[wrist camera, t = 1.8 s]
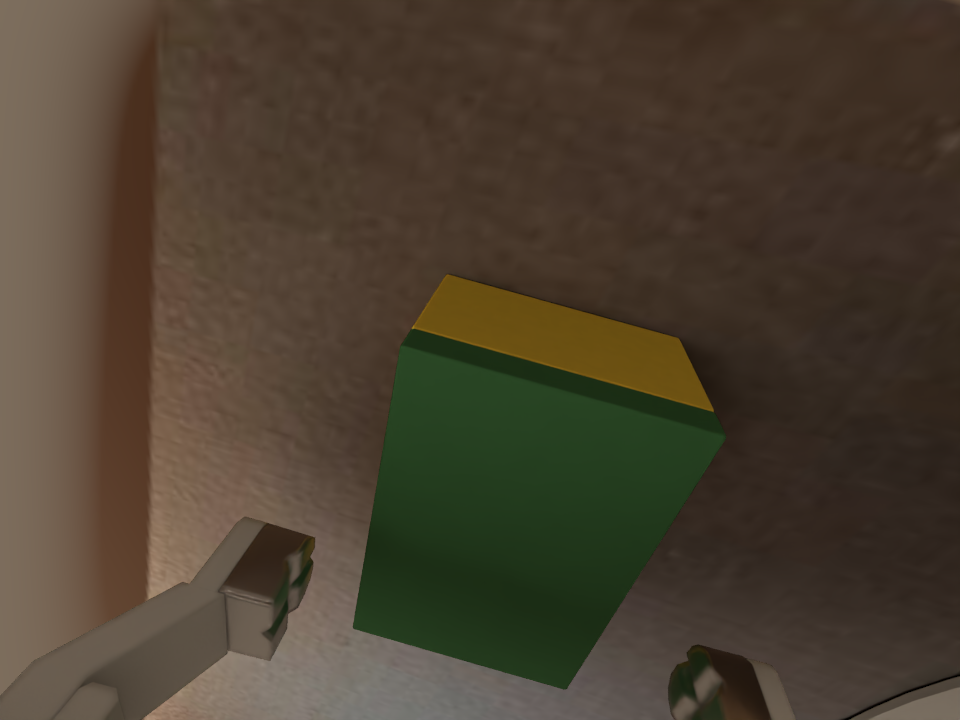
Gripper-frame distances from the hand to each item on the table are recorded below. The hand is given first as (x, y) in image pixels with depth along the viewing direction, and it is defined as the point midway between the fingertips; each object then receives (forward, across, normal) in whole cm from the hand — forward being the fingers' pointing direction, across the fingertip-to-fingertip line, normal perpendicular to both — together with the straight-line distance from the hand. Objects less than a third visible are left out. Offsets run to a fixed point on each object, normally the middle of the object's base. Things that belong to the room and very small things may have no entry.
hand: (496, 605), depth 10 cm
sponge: (+5, 0, 0) cm, 5 cm away
